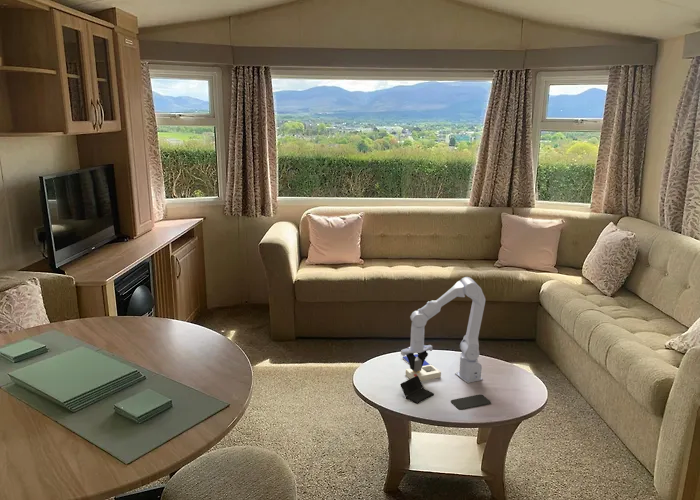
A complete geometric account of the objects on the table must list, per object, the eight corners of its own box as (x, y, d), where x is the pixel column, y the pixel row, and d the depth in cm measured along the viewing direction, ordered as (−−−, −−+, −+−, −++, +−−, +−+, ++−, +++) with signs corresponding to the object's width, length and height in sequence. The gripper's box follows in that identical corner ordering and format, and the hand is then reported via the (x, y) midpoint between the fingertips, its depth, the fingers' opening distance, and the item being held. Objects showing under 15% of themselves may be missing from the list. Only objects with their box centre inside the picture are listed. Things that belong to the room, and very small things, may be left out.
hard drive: (402, 356, 253) (415, 367, 242) (417, 353, 256) (431, 364, 245) (402, 359, 254) (415, 371, 243) (417, 356, 257) (431, 368, 246)
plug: (421, 372, 234) (421, 359, 233) (414, 373, 233) (414, 361, 232) (417, 369, 237) (417, 356, 236) (410, 370, 236) (410, 357, 235)
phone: (449, 400, 216) (481, 393, 222) (449, 402, 217) (481, 395, 222) (459, 409, 210) (492, 402, 215) (459, 411, 210) (492, 404, 215)
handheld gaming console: (422, 402, 212) (410, 378, 215) (408, 408, 216) (397, 384, 219) (436, 394, 221) (425, 371, 224) (422, 400, 225) (412, 377, 228)
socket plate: (440, 377, 236) (441, 371, 235) (414, 382, 231) (415, 376, 230) (430, 369, 243) (431, 363, 242) (405, 374, 238) (405, 368, 237)
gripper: (427, 332, 238) (425, 361, 241) (397, 337, 232) (396, 366, 236) (435, 338, 232) (434, 368, 235) (406, 344, 226) (404, 373, 229)
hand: (415, 368), depth 235 cm, fingers closed on plug, 3 cm apart
